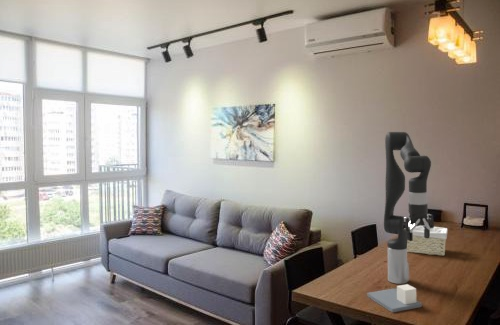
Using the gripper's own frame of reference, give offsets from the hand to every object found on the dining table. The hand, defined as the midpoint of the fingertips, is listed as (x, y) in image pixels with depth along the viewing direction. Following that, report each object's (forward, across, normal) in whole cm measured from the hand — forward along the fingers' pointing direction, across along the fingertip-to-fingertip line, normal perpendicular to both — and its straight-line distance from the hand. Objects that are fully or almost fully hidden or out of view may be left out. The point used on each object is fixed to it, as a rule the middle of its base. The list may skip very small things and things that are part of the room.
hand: (418, 239), depth 166 cm
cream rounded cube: (+27, +6, -1) cm, 28 cm away
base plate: (+28, +9, -6) cm, 30 cm away
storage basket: (+30, -56, -60) cm, 88 cm away
